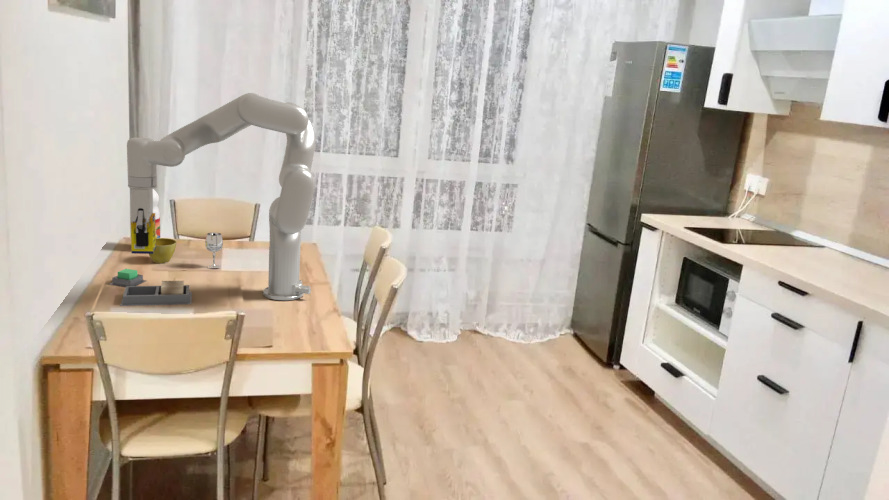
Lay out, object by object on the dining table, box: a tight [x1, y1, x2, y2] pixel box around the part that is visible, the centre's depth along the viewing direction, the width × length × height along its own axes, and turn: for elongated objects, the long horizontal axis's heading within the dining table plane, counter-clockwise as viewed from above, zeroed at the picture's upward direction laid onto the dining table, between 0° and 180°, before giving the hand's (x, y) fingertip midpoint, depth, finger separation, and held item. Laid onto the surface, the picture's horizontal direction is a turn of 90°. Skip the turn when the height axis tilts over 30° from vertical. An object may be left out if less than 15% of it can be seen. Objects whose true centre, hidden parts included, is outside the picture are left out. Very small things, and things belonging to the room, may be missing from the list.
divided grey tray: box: [119, 284, 193, 307], centre depth 202 cm, size 19×11×4 cm, turn 109°
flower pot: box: [148, 237, 177, 264], centre depth 240 cm, size 10×10×7 cm
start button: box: [117, 268, 138, 279], centre depth 213 cm, size 4×4×2 cm
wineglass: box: [204, 231, 224, 269], centre depth 238 cm, size 6×6×12 cm
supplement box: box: [130, 213, 156, 255], centre depth 199 cm, size 6×6×11 cm
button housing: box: [107, 273, 147, 288], centre depth 214 cm, size 8×8×3 cm
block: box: [160, 280, 185, 295], centre depth 203 cm, size 6×6×4 cm
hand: (143, 242), depth 199 cm, fingers closed on supplement box, 6 cm apart
